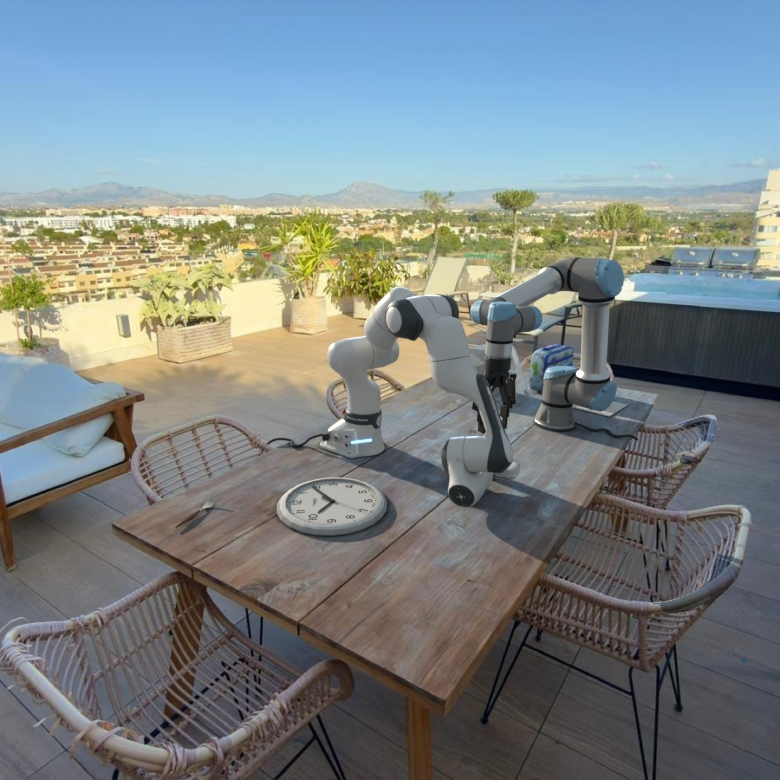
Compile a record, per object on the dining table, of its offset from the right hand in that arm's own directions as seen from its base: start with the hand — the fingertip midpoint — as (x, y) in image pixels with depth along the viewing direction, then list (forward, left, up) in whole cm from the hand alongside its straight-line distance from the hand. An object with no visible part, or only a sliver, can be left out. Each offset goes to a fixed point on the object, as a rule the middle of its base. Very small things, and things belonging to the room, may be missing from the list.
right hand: (492, 429), depth 158 cm
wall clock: (+44, +25, -15) cm, 53 cm away
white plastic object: (-1, -86, -15) cm, 87 cm away
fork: (+78, +35, -15) cm, 87 cm away
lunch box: (-34, -97, -15) cm, 104 cm away
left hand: (0, -1, -8) cm, 9 cm away
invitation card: (-52, -74, -15) cm, 92 cm away
